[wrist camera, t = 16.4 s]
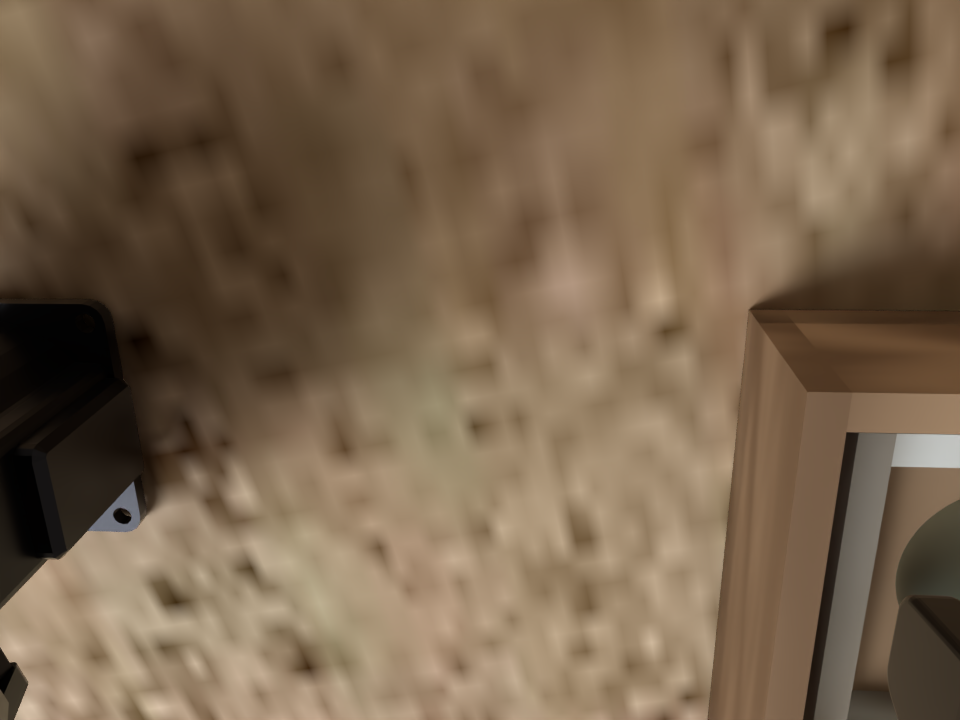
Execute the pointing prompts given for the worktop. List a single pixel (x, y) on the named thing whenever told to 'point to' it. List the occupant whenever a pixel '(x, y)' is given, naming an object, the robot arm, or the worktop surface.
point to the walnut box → (830, 505)
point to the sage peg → (932, 557)
